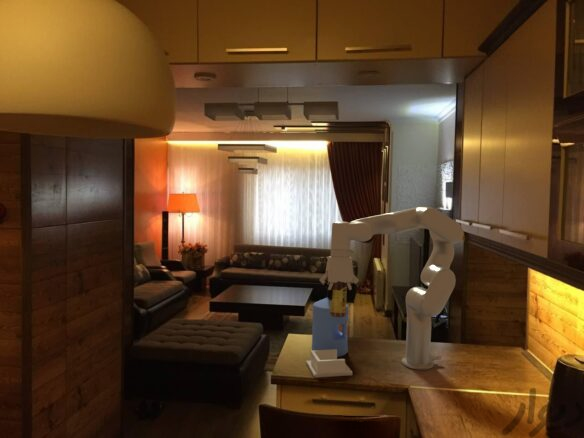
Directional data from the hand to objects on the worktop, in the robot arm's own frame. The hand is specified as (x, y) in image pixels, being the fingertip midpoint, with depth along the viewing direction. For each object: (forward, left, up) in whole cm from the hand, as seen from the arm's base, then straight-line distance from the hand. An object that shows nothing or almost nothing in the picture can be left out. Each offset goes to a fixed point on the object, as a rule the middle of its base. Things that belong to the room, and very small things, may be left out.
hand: (338, 299), depth 178 cm
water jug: (-2, -20, -28) cm, 35 cm away
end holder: (+3, -1, -28) cm, 28 cm away
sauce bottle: (0, 0, -7) cm, 7 cm away
